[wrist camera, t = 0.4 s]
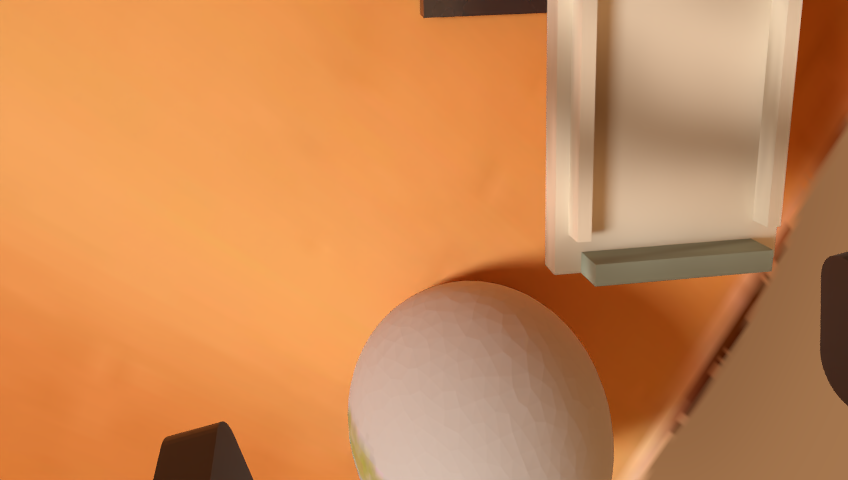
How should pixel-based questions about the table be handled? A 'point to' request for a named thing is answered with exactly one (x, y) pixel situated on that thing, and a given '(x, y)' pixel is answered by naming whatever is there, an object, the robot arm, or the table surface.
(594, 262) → the beam
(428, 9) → the stand
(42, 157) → the table surface
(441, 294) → the decorative egg
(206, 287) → the table surface
